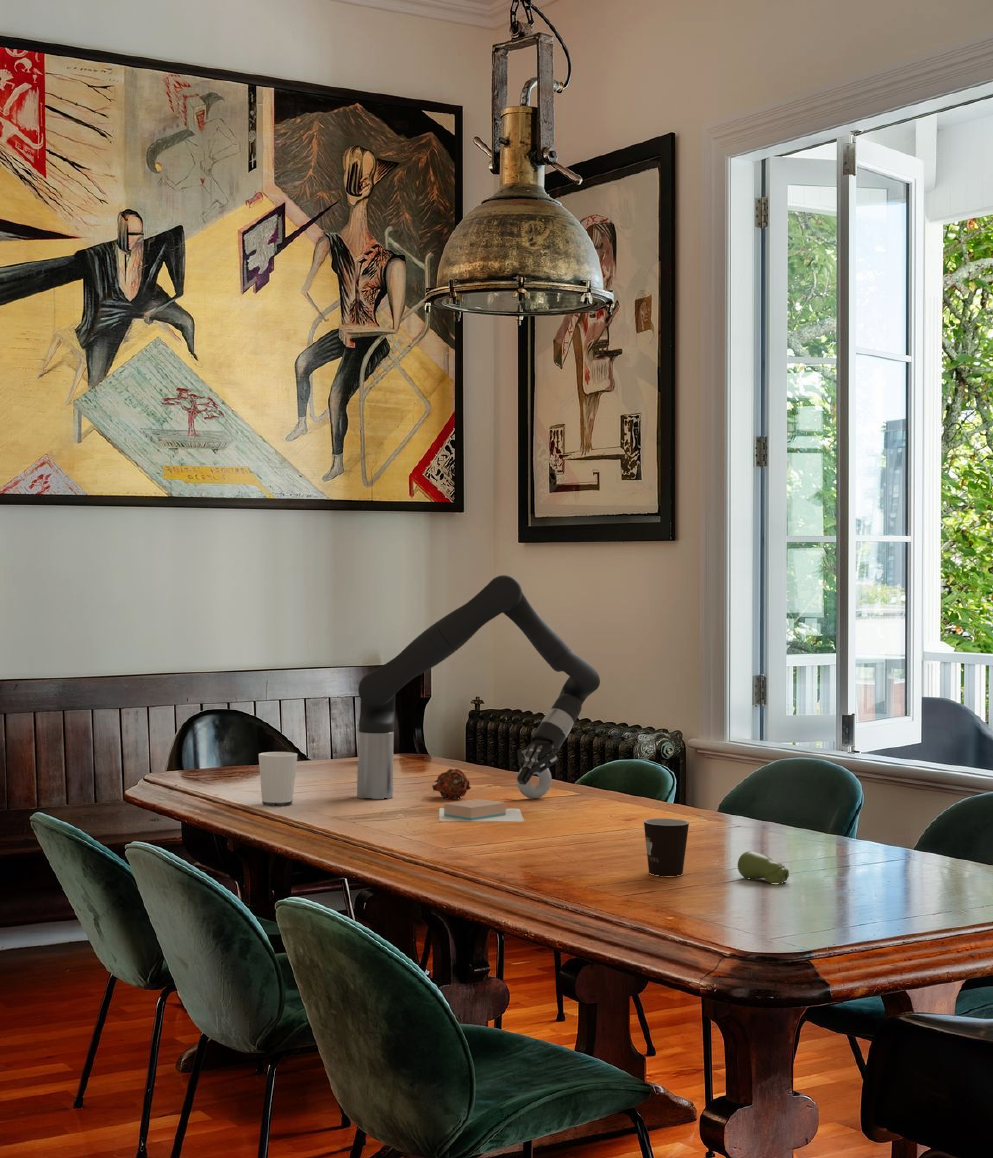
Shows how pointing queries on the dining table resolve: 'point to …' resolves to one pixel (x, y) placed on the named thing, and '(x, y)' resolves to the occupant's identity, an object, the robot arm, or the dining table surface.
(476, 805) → the teal rectangular block
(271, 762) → the cup
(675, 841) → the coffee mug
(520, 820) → the felt mat
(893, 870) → the dining table surface
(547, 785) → the donut
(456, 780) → the brown textured round lump
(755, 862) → the pear
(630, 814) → the dining table surface
